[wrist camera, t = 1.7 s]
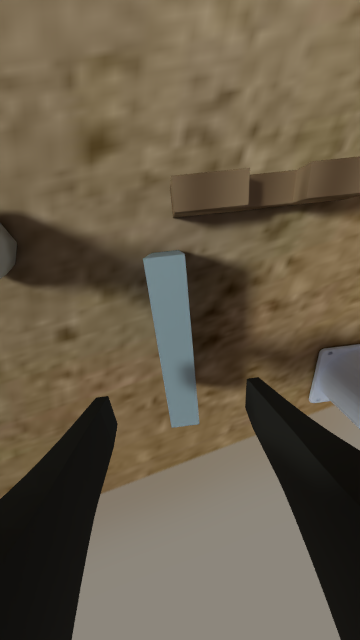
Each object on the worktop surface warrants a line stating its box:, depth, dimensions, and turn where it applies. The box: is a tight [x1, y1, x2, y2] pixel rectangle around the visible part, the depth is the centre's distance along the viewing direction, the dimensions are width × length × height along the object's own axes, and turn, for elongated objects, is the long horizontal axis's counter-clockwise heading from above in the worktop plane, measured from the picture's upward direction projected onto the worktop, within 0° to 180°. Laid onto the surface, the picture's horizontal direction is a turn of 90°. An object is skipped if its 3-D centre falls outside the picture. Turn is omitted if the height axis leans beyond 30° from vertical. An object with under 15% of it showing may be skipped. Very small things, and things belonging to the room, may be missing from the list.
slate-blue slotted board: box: [143, 250, 199, 427], centre depth 16 cm, size 2×14×6 cm, turn 6°
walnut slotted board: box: [170, 157, 360, 218], centre depth 13 cm, size 14×2×3 cm, turn 96°
